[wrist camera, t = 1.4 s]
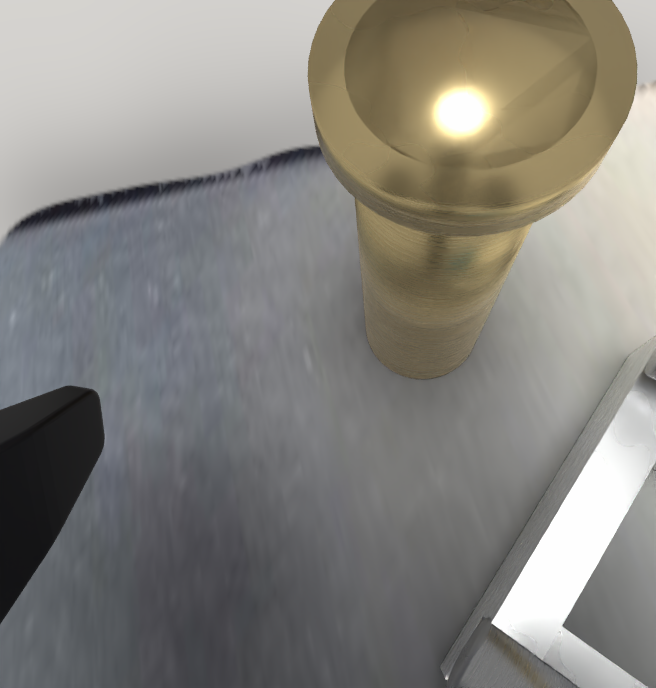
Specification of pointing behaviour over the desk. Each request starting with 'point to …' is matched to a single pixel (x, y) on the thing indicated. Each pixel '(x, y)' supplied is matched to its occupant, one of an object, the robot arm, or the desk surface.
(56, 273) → the desk surface
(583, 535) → the metal roller frame
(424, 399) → the desk surface
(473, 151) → the pin
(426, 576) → the desk surface
